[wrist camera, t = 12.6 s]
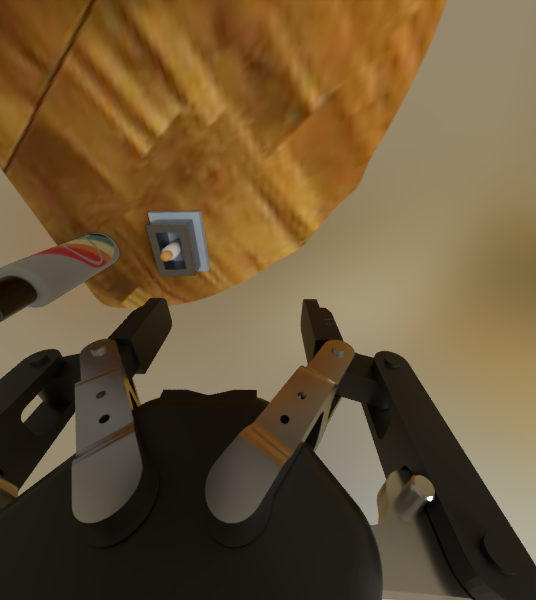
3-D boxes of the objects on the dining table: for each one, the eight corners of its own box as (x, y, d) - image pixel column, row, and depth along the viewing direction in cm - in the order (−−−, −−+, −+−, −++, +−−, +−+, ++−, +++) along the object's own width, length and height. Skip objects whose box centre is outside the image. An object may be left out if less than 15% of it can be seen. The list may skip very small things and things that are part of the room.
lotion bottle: (107, 227, 37) (-28, 279, 20) (127, 258, 40) (22, 327, 23) (78, 237, 38) (-76, 294, 21) (100, 266, 41) (-21, 338, 24)
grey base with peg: (151, 211, 36) (124, 221, 29) (201, 210, 36) (185, 220, 29) (167, 268, 41) (146, 288, 34) (210, 267, 41) (198, 288, 34)
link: (157, 219, 35) (145, 225, 32) (192, 219, 35) (184, 224, 32) (169, 266, 39) (160, 276, 36) (200, 266, 39) (194, 275, 36)
